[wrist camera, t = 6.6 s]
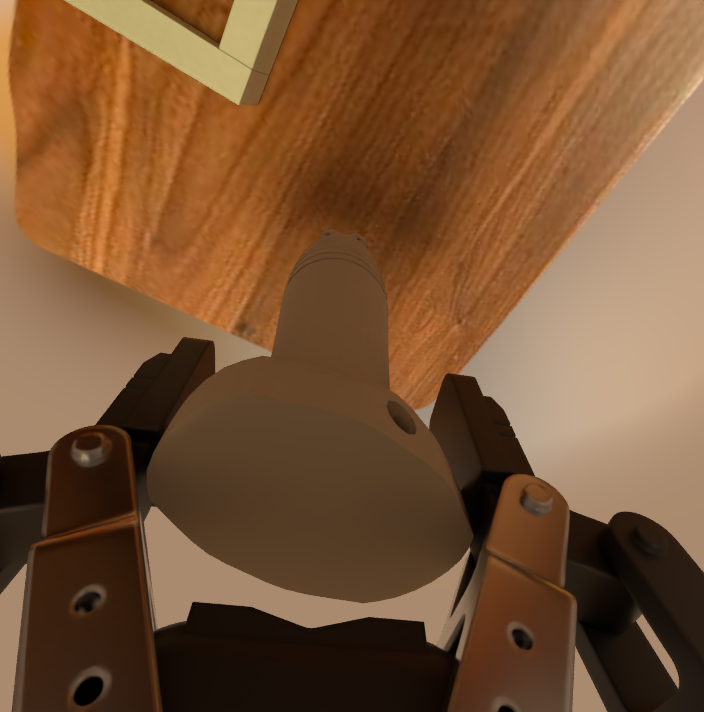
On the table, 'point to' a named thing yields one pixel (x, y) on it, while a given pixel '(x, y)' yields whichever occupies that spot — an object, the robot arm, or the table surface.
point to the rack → (205, 41)
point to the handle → (315, 450)
